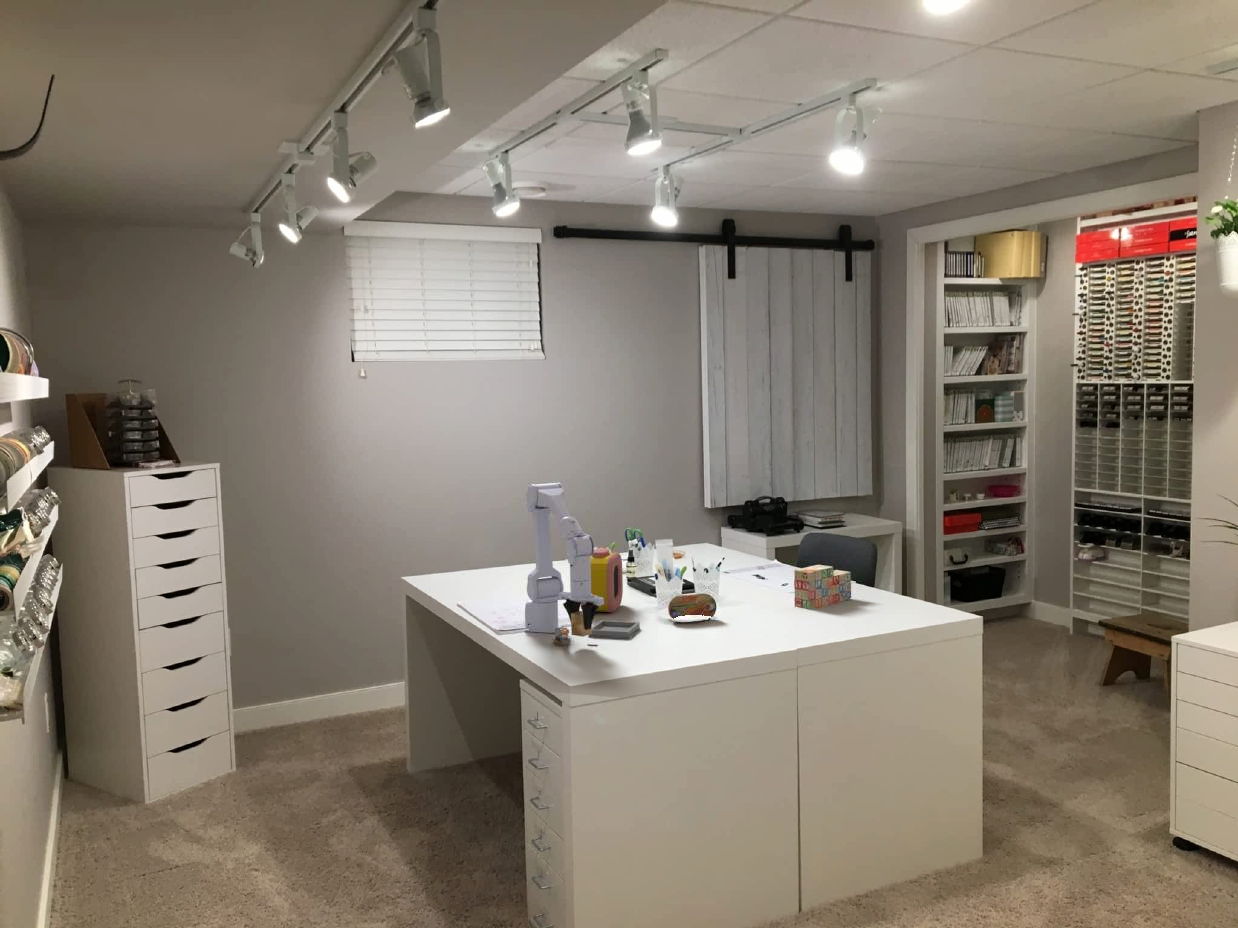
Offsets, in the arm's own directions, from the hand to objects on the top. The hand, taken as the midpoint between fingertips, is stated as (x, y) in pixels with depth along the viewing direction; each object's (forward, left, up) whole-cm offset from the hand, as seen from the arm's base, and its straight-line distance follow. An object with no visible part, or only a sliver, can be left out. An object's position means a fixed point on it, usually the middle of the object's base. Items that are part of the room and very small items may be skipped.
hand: (581, 627), depth 280 cm
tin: (+23, +36, -6) cm, 44 cm away
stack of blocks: (+59, +70, -6) cm, 92 cm away
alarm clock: (-9, +45, -6) cm, 47 cm away
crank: (-6, 0, -4) cm, 7 cm away
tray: (+4, +17, -6) cm, 19 cm away
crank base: (-3, +2, -6) cm, 7 cm away
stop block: (0, 0, -2) cm, 2 cm away
